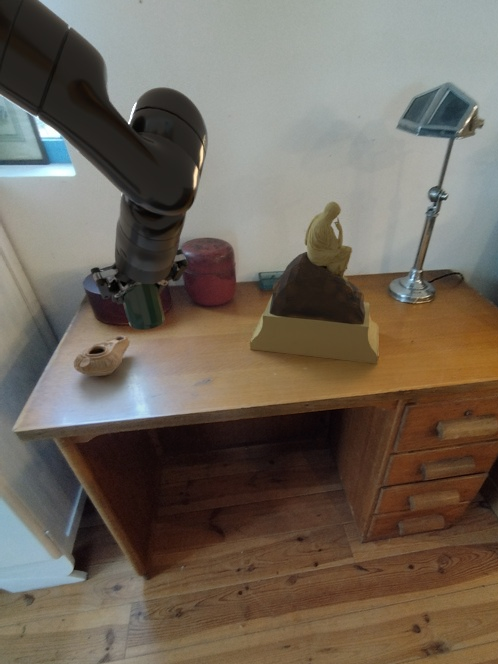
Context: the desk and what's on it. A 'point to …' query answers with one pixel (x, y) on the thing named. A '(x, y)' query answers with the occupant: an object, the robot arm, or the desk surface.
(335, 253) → the seated thinker statue
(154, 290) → the pot
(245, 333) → the desk surface
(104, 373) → the pottery oil lamp
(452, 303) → the desk surface
